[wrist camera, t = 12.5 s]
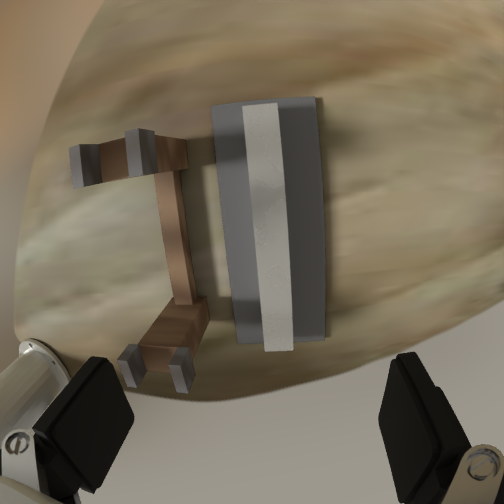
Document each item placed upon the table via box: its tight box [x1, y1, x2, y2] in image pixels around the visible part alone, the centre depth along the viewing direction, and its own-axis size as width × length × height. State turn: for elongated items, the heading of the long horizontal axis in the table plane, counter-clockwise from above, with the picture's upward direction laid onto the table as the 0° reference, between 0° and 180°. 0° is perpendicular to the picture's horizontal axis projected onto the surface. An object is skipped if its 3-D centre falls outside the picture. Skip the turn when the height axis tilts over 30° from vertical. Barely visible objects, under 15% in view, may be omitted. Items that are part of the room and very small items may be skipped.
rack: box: [69, 128, 210, 393], centre depth 26 cm, size 20×6×12 cm, turn 4°
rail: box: [242, 103, 293, 352], centre depth 29 cm, size 24×3×3 cm, turn 5°
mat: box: [211, 97, 325, 344], centre depth 30 cm, size 26×10×1 cm, turn 4°
